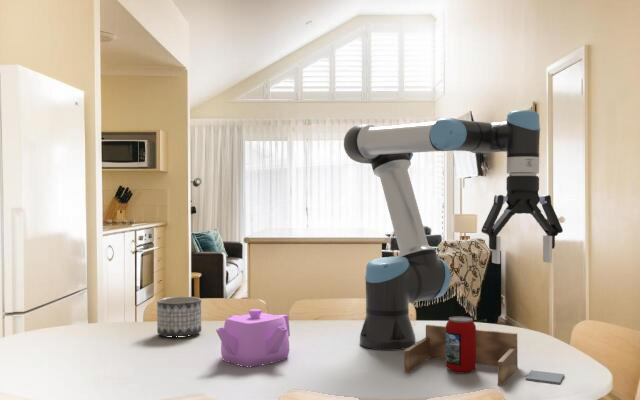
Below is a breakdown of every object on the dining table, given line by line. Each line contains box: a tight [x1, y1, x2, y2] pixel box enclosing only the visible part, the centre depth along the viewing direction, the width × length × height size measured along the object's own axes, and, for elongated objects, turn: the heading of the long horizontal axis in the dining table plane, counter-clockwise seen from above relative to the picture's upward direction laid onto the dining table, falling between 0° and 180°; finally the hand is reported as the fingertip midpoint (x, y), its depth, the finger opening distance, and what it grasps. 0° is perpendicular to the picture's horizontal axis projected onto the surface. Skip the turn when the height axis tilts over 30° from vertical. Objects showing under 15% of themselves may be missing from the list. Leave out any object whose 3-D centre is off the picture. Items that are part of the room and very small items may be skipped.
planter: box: [156, 296, 202, 337], centre depth 181 cm, size 13×13×10 cm
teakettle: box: [215, 308, 291, 368], centre depth 153 cm, size 17×17×12 cm
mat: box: [525, 370, 565, 385], centre depth 135 cm, size 7×7×1 cm
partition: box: [403, 324, 518, 386], centre depth 142 cm, size 22×16×8 cm
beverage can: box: [445, 315, 477, 374], centre depth 142 cm, size 7×7×12 cm
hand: (521, 262), depth 149 cm, fingers open, 13 cm apart
